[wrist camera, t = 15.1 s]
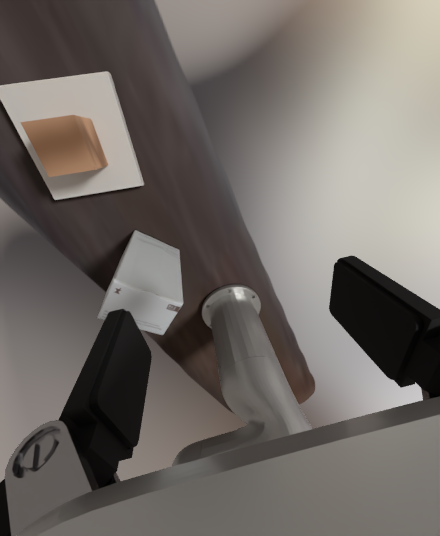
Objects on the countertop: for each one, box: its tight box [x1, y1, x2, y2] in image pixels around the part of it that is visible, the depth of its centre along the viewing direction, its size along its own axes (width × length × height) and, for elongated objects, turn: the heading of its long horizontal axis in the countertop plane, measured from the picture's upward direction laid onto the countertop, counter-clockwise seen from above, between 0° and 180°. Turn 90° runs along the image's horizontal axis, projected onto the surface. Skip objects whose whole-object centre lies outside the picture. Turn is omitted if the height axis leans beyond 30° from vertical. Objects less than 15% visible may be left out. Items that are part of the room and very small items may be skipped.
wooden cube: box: [20, 115, 108, 177], centre depth 24 cm, size 5×5×5 cm
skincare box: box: [97, 230, 183, 335], centre depth 30 cm, size 8×6×15 cm
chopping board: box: [0, 71, 144, 200], centre depth 27 cm, size 12×12×1 cm
